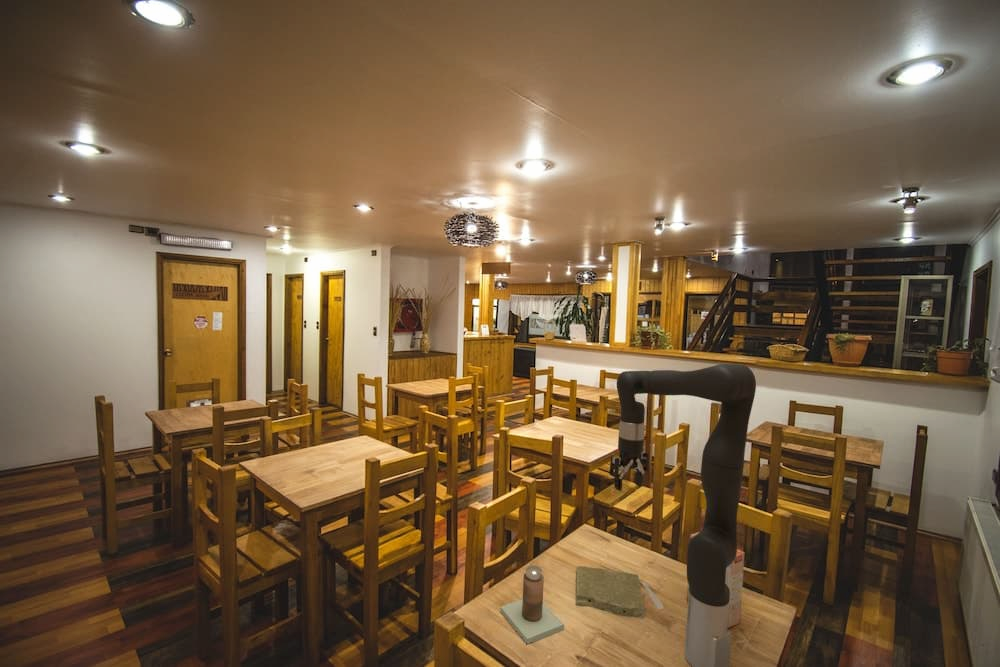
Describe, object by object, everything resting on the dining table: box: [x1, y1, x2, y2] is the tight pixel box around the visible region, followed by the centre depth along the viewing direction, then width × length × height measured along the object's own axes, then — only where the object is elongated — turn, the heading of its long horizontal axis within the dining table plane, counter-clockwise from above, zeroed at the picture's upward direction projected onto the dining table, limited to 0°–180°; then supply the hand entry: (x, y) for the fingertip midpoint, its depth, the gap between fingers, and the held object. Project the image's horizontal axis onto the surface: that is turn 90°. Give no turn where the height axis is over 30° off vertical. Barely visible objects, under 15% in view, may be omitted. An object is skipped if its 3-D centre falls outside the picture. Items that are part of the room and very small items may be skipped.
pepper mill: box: [522, 565, 545, 622], centre depth 124 cm, size 6×6×13 cm
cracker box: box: [686, 531, 745, 629], centre depth 131 cm, size 14×6×21 cm, turn 27°
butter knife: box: [640, 581, 664, 610], centre depth 145 cm, size 1×27×3 cm
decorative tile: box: [575, 565, 645, 619], centre depth 138 cm, size 19×20×4 cm
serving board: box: [499, 598, 565, 645], centre depth 125 cm, size 14×12×2 cm
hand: (628, 487), depth 138 cm, fingers open, 8 cm apart
